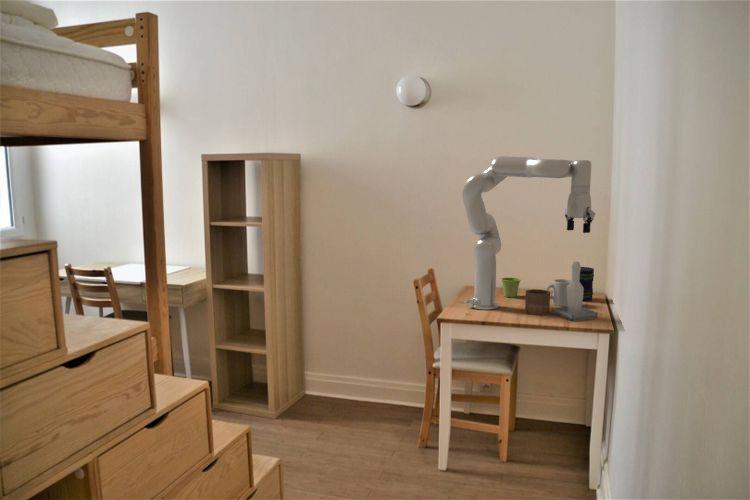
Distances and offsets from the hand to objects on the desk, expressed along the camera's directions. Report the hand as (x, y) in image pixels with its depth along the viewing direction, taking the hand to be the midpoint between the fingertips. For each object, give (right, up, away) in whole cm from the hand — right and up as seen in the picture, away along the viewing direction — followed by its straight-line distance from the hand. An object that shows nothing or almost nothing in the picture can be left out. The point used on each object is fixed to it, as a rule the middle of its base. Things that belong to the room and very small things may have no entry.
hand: (578, 231), depth 246 cm
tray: (0, -36, +5) cm, 36 cm away
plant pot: (-19, -31, +42) cm, 55 cm away
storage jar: (+14, -32, +36) cm, 50 cm away
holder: (-14, -35, +12) cm, 39 cm away
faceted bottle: (0, -35, +5) cm, 35 cm away
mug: (0, -33, +26) cm, 42 cm away
